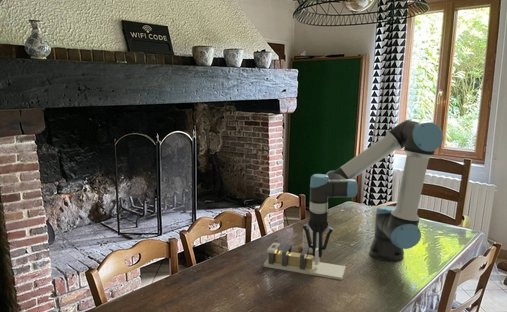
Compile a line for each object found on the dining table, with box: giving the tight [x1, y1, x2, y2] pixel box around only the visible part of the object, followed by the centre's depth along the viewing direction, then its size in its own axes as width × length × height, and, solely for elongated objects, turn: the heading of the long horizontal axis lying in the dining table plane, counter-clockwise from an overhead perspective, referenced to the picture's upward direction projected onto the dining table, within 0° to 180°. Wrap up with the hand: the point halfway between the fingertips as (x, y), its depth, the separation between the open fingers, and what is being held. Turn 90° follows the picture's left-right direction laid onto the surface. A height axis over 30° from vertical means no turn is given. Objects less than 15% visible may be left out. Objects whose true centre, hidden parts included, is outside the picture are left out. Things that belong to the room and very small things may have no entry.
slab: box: [263, 258, 347, 281], centre depth 170 cm, size 34×11×1 cm, turn 69°
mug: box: [302, 227, 319, 255], centre depth 189 cm, size 12×9×11 cm
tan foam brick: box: [267, 249, 315, 268], centre depth 172 cm, size 20×4×4 cm, turn 69°
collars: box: [266, 242, 310, 270], centre depth 172 cm, size 17×8×6 cm, turn 69°
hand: (317, 263), depth 168 cm, fingers closed
